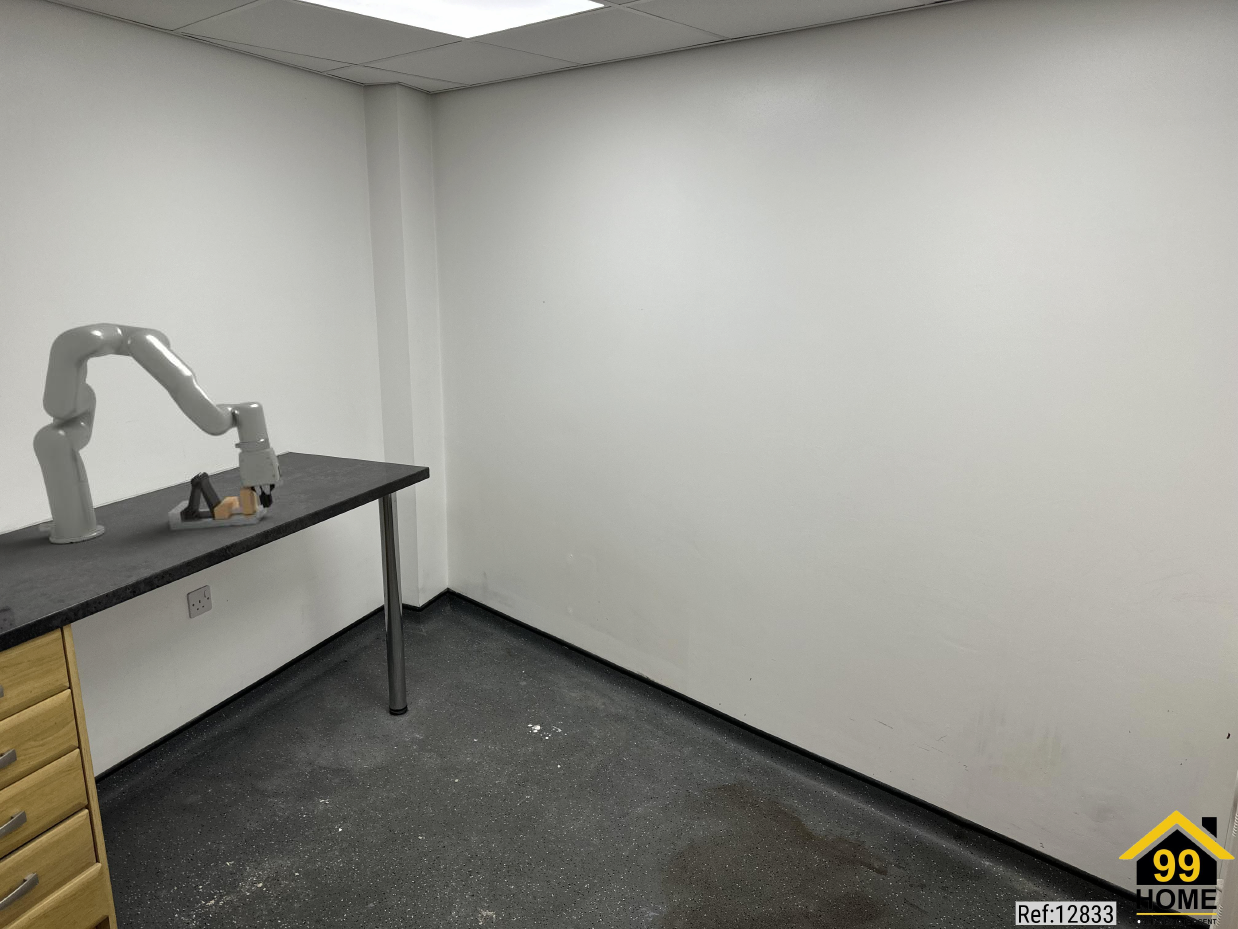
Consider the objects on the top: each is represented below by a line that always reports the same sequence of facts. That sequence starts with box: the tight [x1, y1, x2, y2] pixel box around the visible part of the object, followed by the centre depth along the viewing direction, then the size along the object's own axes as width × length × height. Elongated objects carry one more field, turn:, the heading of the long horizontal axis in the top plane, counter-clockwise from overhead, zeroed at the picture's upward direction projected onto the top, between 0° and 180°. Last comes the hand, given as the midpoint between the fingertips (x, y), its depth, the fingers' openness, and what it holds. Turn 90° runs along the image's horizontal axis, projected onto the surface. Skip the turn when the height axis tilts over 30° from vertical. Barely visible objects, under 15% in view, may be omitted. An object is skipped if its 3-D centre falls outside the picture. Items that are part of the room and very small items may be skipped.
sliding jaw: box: [214, 487, 259, 519], centre depth 222 cm, size 9×12×7 cm
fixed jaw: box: [167, 500, 189, 524], centre depth 220 cm, size 3×12×3 cm, turn 11°
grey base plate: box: [169, 504, 268, 531], centre depth 223 cm, size 22×12×2 cm, turn 101°
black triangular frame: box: [185, 471, 222, 519], centre depth 220 cm, size 9×6×12 cm, turn 100°
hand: (267, 506), depth 225 cm, fingers closed
